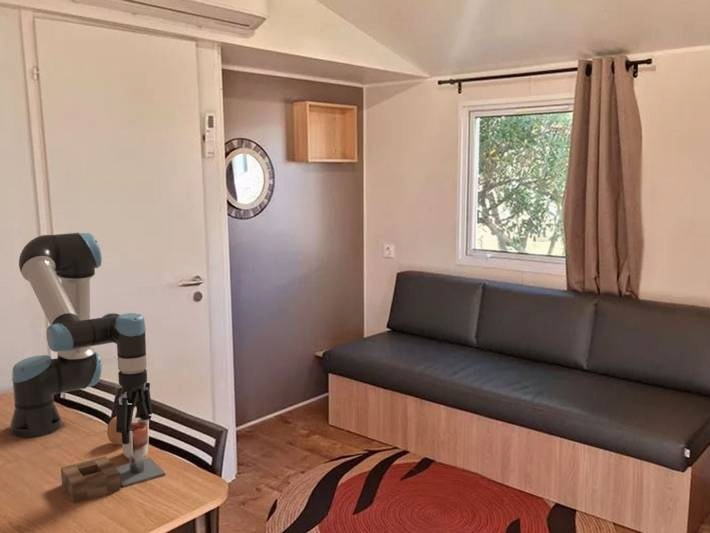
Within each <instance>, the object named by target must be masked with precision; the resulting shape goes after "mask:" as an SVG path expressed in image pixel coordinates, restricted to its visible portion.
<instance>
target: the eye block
mask: <svg viewBox="0 0 710 533" xmlns="http://www.w3.org/2000/svg"><path fill="white" fill-rule="evenodd" d="M115 467H116V466H115V465H114V464H113V462H111V461H110V460H109V458H108V457H107V455H105V456H102V457H97V458H94V459H89V460H86V461H82V462H78V463H73V464H71V465H70V464H69V465H67V466H66V465H65V466H63V467H60V473H61V474H60V475H61V485H62V487H63V489H64V490H65V492H66V493H67V494H68V496H69V498H70V499H71V501H72V503H73V504H75V503H79V502H82V501H86V500H90V499H93V498H97V497H101V496H104V495H106V494H110V493H113V492H114V493H115V492H118V491H120V490H121V484H120V472H119V471H118V470H117V469H116V468H115Z"/></svg>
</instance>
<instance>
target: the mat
mask: <svg viewBox="0 0 710 533" xmlns="http://www.w3.org/2000/svg"><path fill="white" fill-rule="evenodd" d="M115 468H116V469H117V470H118V471H119V472H120V486H121V487H122V488H125V487H128V486H129V487H130V486H132V485H135V484H138V483H139V484H140V483H142V482H147V481H149V480H152V479H156V478H160V477H163V476H166V472H165V471H164V470H163V469H162V468H161V467H160V466H159V464H157V463H156V462H155V461H154V460H153V458H151V457H147V458H144V471H143V472H141V473H130V465H129V462H128V463H125V464H120V465H117V466H115Z"/></svg>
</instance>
